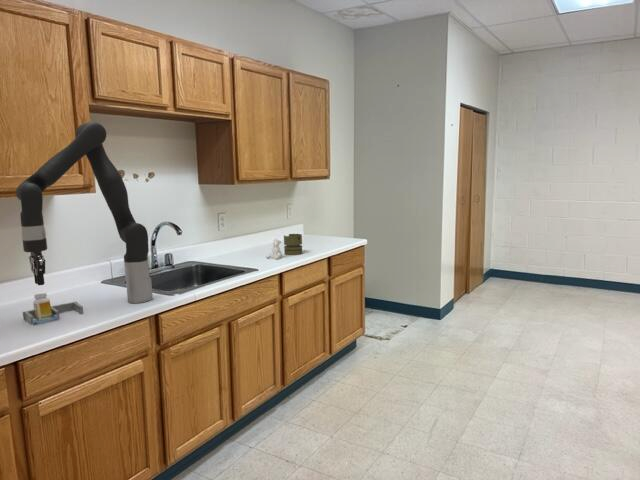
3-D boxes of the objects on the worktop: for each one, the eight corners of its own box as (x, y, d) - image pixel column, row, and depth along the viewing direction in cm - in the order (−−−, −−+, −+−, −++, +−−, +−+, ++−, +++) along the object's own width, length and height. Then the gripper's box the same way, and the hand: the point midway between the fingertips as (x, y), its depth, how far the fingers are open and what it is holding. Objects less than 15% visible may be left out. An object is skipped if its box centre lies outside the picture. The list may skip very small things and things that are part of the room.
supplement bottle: (55, 317, 182) (51, 291, 182) (47, 319, 177) (43, 293, 177) (41, 319, 182) (37, 293, 182) (33, 321, 177) (28, 295, 177)
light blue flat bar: (58, 319, 181) (57, 314, 181) (59, 319, 180) (58, 315, 180) (32, 324, 175) (32, 319, 175) (33, 325, 174) (32, 320, 174)
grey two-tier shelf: (77, 308, 194) (76, 301, 194) (84, 313, 187) (84, 306, 187) (23, 319, 182) (22, 311, 181) (29, 325, 175) (28, 317, 174)
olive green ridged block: (280, 235, 300) (290, 233, 309) (280, 254, 302) (291, 251, 311) (295, 236, 294) (305, 234, 303) (295, 256, 296) (305, 252, 305)
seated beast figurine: (265, 258, 290) (264, 239, 288) (275, 256, 296) (274, 237, 295) (275, 260, 284) (274, 240, 282) (286, 258, 290) (285, 238, 288)
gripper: (50, 238, 172) (56, 285, 175) (40, 235, 182) (46, 279, 185) (27, 241, 167) (33, 289, 170) (18, 237, 177) (23, 283, 180)
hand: (39, 283), depth 178 cm, fingers open, 3 cm apart
